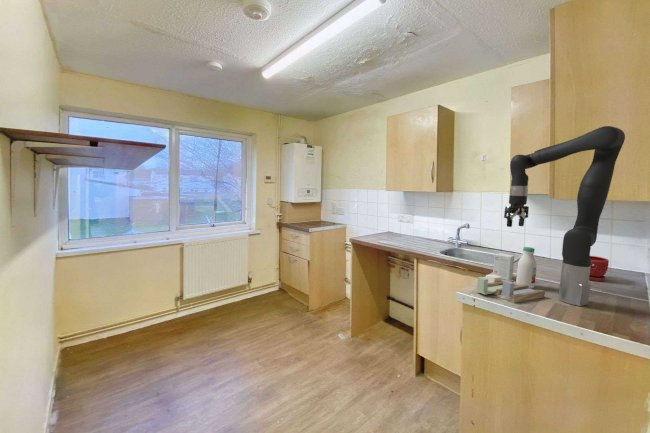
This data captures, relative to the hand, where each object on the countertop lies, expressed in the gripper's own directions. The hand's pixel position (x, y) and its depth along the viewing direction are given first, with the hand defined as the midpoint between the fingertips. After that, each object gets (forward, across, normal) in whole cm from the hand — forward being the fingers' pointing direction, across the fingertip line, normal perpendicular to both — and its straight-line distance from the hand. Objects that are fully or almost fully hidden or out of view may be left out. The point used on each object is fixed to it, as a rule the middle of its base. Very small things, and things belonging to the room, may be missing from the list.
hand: (515, 226), depth 145 cm
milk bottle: (+30, +3, -6) cm, 31 cm away
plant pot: (+30, +51, -9) cm, 60 cm away
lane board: (+30, -13, -11) cm, 35 cm away
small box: (+30, +4, +7) cm, 31 cm away
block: (+30, -12, 0) cm, 32 cm away
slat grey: (+29, -13, -15) cm, 35 cm away
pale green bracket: (+29, -20, -7) cm, 36 cm away
